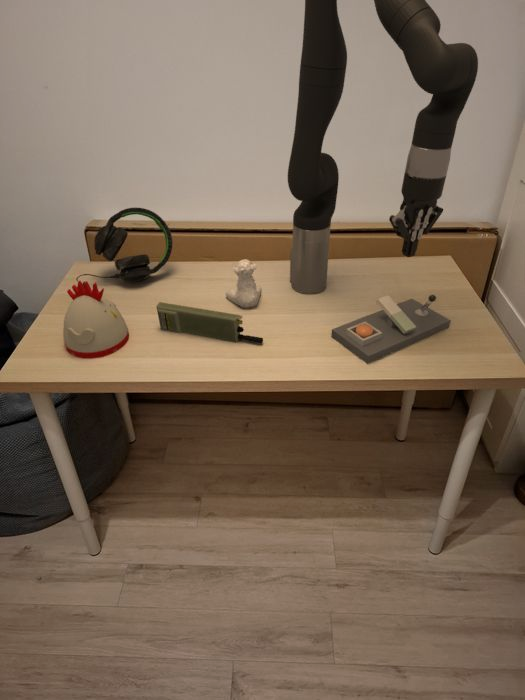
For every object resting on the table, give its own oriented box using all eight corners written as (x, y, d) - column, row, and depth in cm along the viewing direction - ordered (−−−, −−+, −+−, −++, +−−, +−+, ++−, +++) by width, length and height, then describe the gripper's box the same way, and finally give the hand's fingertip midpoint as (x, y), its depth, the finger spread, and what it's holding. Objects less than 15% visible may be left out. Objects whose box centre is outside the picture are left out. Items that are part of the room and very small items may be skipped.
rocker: (376, 301, 109) (377, 299, 108) (386, 298, 111) (388, 295, 110) (404, 334, 105) (405, 331, 104) (414, 329, 106) (416, 326, 105)
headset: (104, 314, 135) (184, 248, 137) (100, 319, 122) (188, 246, 124) (57, 263, 130) (141, 196, 132) (48, 263, 116) (141, 188, 119)
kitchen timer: (114, 361, 103) (99, 300, 94) (54, 356, 105) (34, 295, 96) (137, 325, 114) (126, 268, 105) (83, 321, 116) (67, 264, 107)
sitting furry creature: (260, 291, 126) (259, 248, 119) (269, 307, 120) (269, 263, 113) (225, 296, 125) (222, 253, 117) (232, 313, 118) (229, 268, 111)
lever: (417, 309, 113) (429, 294, 108) (422, 307, 113) (434, 292, 109) (421, 314, 112) (433, 299, 107) (426, 312, 113) (438, 297, 108)
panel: (331, 336, 109) (332, 323, 107) (410, 305, 119) (412, 292, 117) (367, 363, 101) (369, 350, 99) (448, 327, 111) (452, 314, 109)
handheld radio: (165, 323, 115) (265, 341, 108) (159, 331, 112) (260, 349, 106) (161, 299, 111) (264, 316, 104) (154, 307, 108) (259, 325, 102)
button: (351, 334, 106) (352, 327, 105) (364, 329, 107) (365, 322, 106) (362, 342, 103) (363, 335, 102) (375, 337, 105) (376, 329, 104)
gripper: (435, 160, 95) (417, 241, 105) (385, 170, 89) (371, 255, 100) (466, 170, 90) (444, 255, 100) (415, 181, 84) (397, 270, 95)
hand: (408, 255), depth 100 cm, fingers closed
